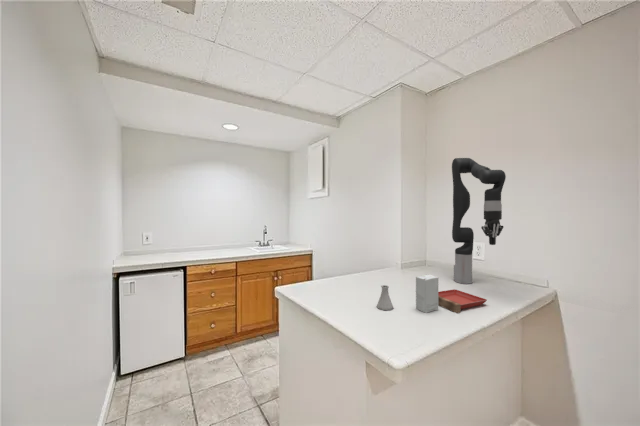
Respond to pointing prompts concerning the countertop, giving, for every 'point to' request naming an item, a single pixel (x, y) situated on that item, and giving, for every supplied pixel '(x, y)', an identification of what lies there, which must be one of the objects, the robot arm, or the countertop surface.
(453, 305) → the bar
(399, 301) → the countertop surface
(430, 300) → the skincare box
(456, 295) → the plant saucer
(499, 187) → the robot arm
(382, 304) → the flask
